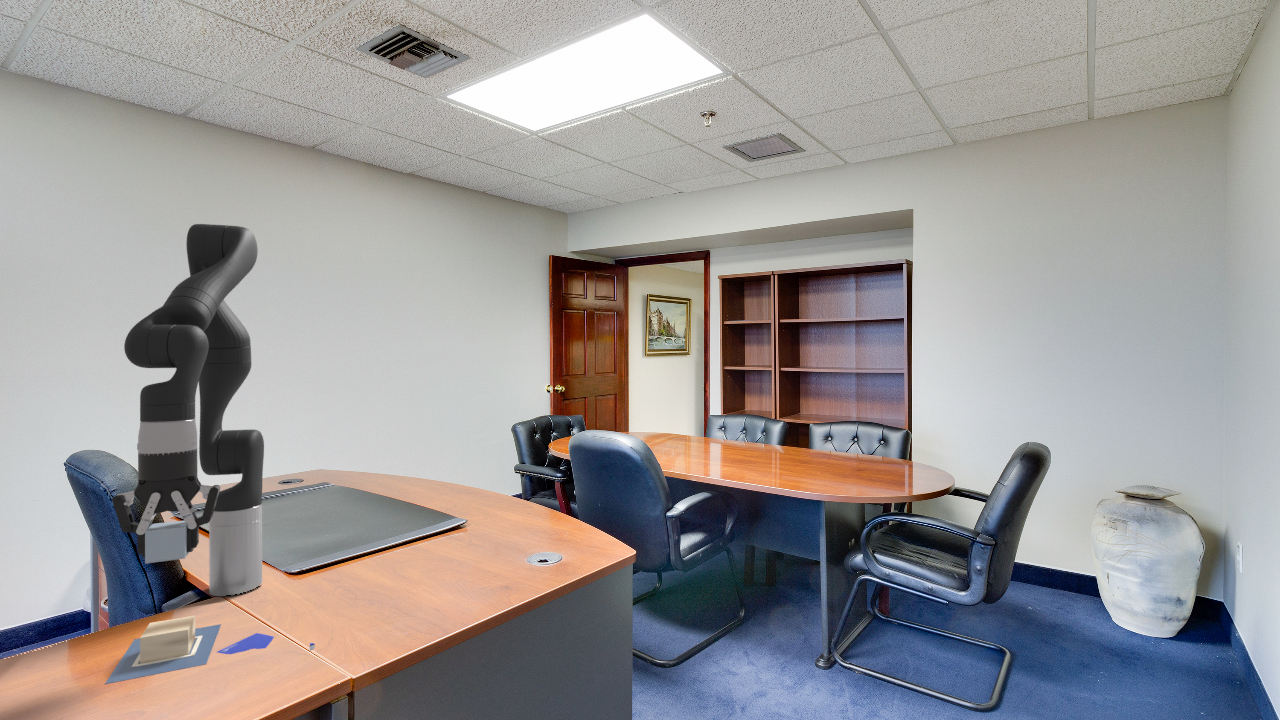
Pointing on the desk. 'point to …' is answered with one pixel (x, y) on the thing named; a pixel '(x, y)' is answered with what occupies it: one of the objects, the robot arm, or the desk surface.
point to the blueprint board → (196, 657)
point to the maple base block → (167, 639)
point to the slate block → (166, 542)
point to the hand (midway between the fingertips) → (168, 553)
